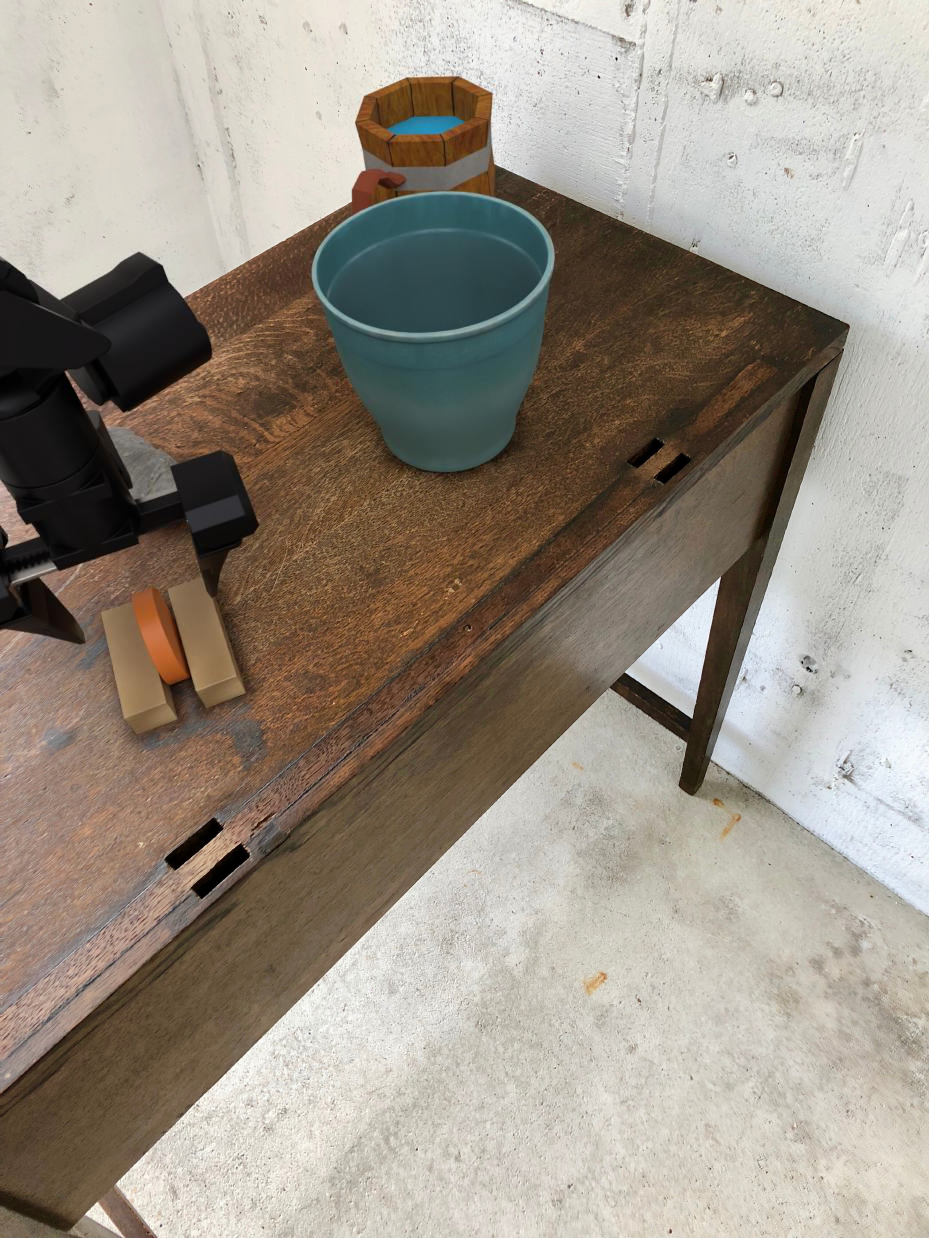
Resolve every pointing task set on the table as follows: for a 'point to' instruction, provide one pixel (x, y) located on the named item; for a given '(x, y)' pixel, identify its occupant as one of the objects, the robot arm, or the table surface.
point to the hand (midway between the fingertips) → (148, 615)
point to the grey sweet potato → (143, 462)
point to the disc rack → (203, 646)
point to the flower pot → (438, 319)
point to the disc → (160, 635)
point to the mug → (424, 140)
